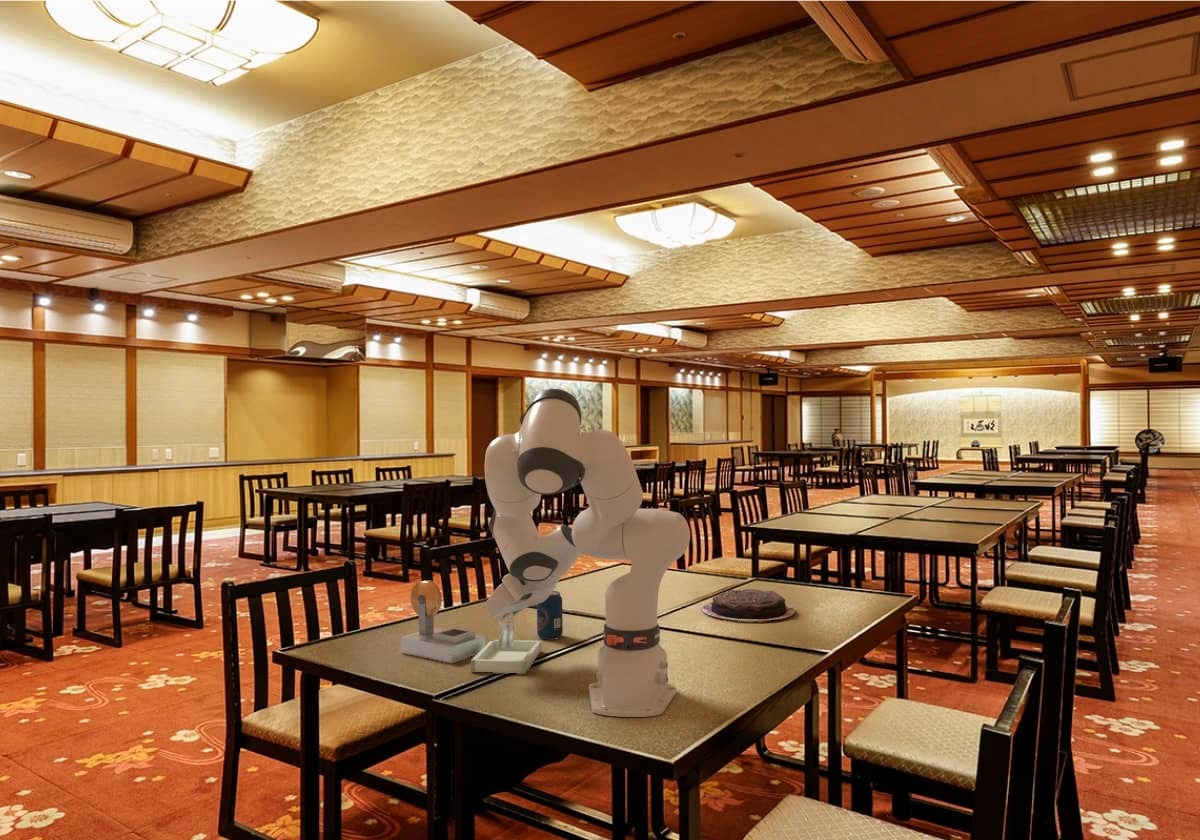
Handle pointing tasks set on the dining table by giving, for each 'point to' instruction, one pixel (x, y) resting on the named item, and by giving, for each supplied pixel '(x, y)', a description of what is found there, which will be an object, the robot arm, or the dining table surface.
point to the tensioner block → (437, 630)
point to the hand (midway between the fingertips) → (504, 616)
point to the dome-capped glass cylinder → (506, 631)
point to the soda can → (550, 617)
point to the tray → (506, 657)
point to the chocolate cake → (748, 606)
